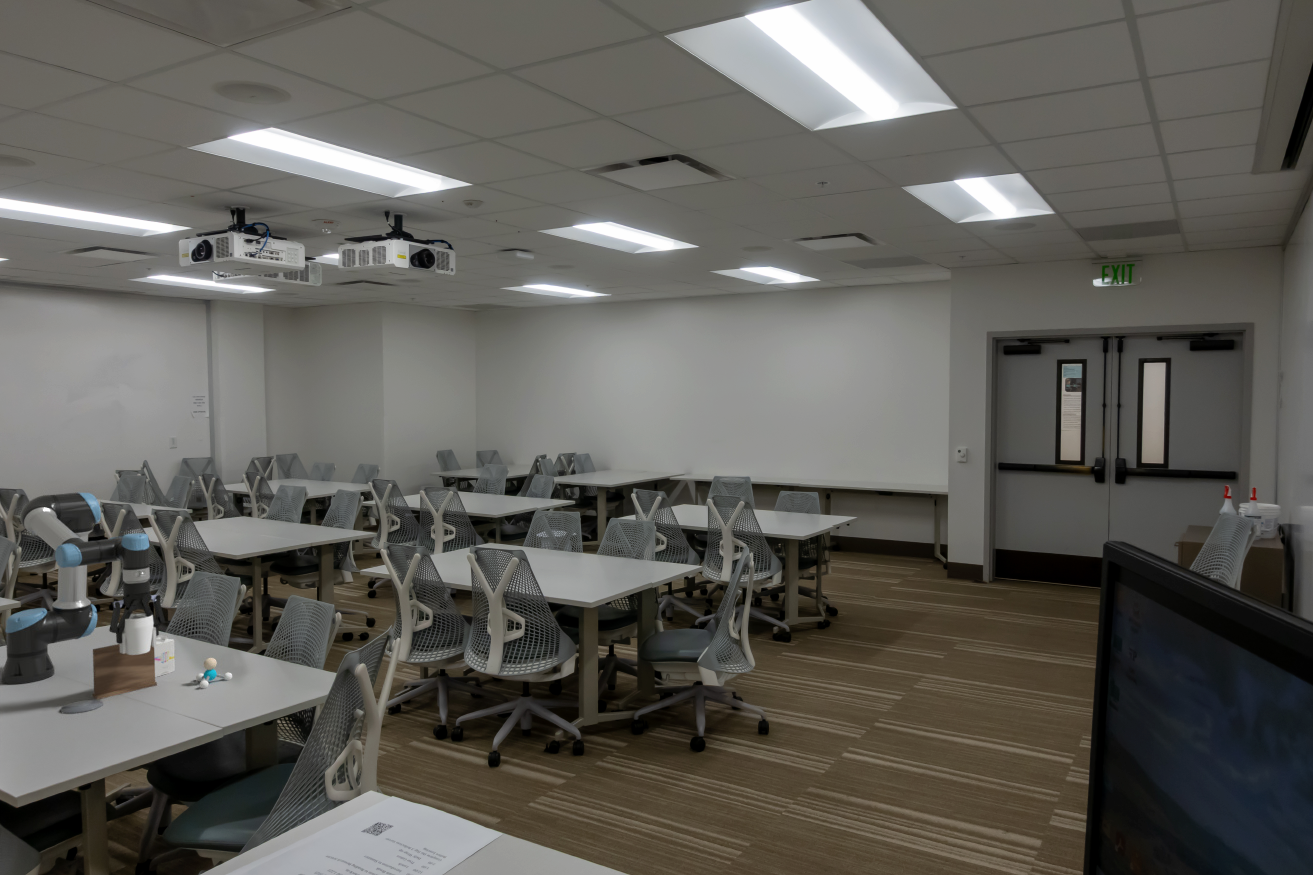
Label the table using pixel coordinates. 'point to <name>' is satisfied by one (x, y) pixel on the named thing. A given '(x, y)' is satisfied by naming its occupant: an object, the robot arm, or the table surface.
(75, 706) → the grey smooth rounded part
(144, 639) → the cup
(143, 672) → the brown wooden slab
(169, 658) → the ink box
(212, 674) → the molecule model
